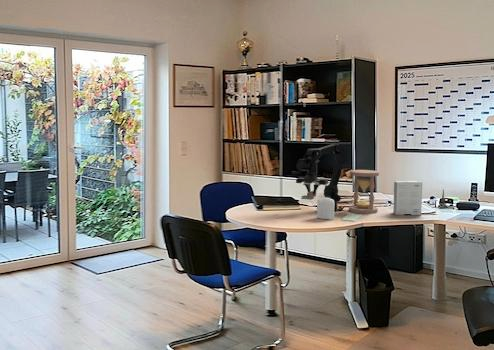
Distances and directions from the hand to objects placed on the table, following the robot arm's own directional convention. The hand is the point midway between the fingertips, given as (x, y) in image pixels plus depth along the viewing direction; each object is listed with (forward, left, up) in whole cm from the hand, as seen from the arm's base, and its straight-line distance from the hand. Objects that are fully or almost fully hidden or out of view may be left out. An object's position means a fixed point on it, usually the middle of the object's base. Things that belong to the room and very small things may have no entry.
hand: (311, 195), depth 322 cm
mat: (+4, +26, -11) cm, 28 cm away
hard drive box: (-24, +53, -11) cm, 59 cm away
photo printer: (+13, +13, -11) cm, 21 cm away
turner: (+3, 0, -1) cm, 3 cm away
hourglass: (-21, +27, -11) cm, 36 cm away
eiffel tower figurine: (-56, +70, -12) cm, 91 cm away
